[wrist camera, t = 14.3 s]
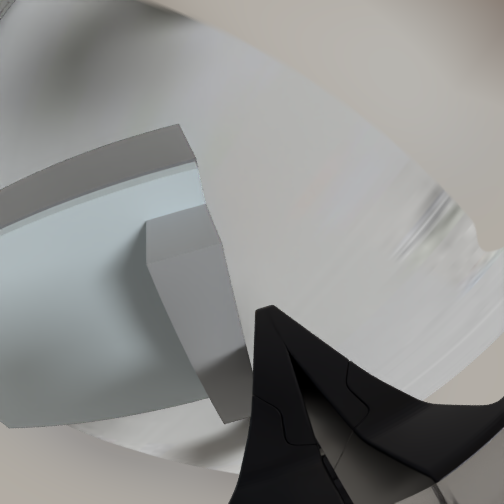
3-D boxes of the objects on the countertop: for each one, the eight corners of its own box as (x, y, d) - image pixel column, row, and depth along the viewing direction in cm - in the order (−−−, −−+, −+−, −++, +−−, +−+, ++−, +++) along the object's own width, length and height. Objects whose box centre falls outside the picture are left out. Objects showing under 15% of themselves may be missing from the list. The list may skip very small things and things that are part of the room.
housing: (217, 286, 19) (247, 369, 14) (27, 337, 17) (11, 415, 11) (178, 123, 13) (196, 157, 8) (-47, 216, 11) (-102, 283, 6)
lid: (247, 375, 14) (265, 421, 11) (10, 419, 11) (6, 457, 9) (194, 161, 8) (212, 198, 6) (-106, 288, 5) (-129, 329, 3)
